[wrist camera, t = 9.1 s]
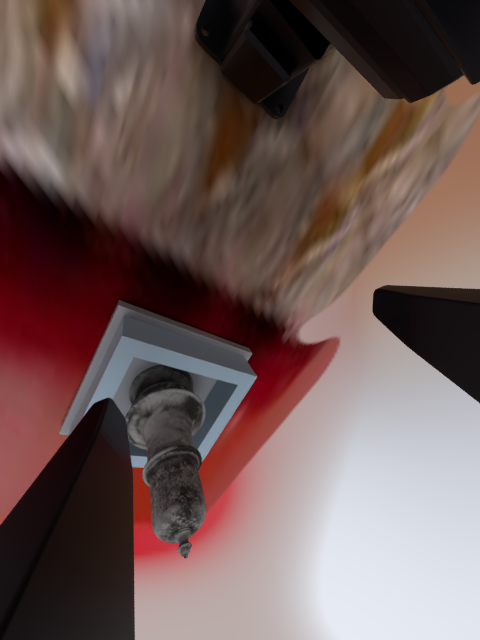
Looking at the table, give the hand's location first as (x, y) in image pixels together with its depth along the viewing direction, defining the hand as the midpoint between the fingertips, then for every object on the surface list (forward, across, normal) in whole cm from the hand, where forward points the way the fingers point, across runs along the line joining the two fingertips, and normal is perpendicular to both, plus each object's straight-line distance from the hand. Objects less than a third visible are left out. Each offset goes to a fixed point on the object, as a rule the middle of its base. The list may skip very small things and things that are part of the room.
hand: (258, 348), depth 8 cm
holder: (+13, +6, +10) cm, 17 cm away
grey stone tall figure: (+12, +6, +10) cm, 17 cm away
